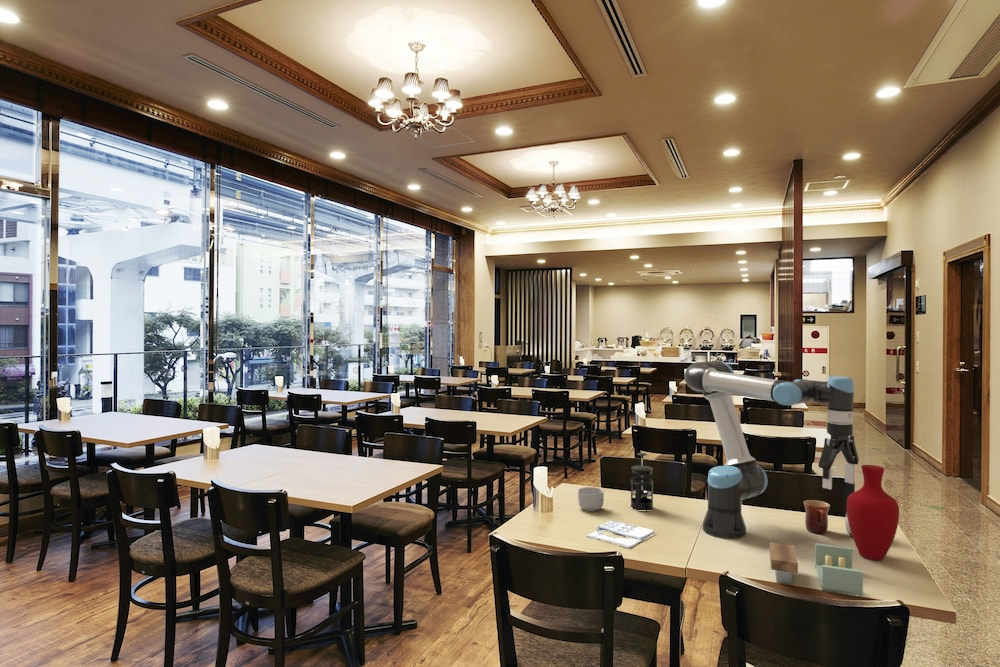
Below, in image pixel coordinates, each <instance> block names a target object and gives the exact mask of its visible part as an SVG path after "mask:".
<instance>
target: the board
mask: <svg viewBox="0 0 1000 667" xmlns="http://www.w3.org/2000/svg"><path fill="white" fill-rule="evenodd" d="M795 547H796V546H795V545H792V544H784V543H778V542H769V560H770V569H771V570H773V571H775V570H778V571H784V572H791V574H798V573H799V570H798V569H799V563H798V557H797V553H796V552H797V551H796V548H795Z"/></svg>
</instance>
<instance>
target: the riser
mask: <svg viewBox="0 0 1000 667" xmlns="http://www.w3.org/2000/svg"><path fill="white" fill-rule="evenodd" d="M774 571H775V582H776V583H778V584H779V583H780V584H786V585H792V573H791V572H784V571H778V570H774Z"/></svg>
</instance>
